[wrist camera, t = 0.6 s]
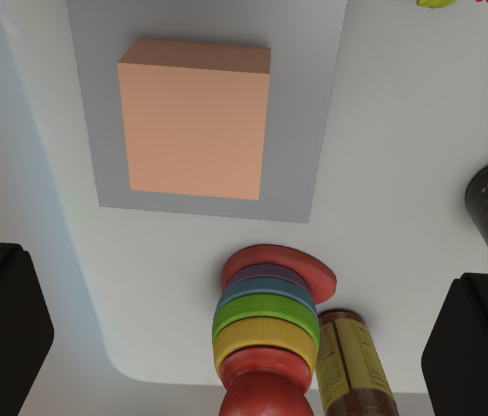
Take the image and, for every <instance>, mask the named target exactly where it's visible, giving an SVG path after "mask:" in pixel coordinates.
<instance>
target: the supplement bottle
mask: <svg viewBox="0 0 488 416" xmlns="http://www.w3.org/2000/svg"><path fill="white" fill-rule="evenodd" d="M466 205H467V209H468V212H469V214H470V216H471V218H472V219H473V221H474V223H475V225H476V227H477V228H478V230H479V232H480V234H481V235H482V237H483V239H484V241H485V242H486V244H487V246H488V168H486V169H485V170H483V171H482V172H481V173H480V174H479V175H478V176H477V177H476V178H475V179H474V181H473V182H472V184H471V185H470V187H469V189H468V192H467V196H466Z"/></svg>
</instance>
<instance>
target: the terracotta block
mask: <svg viewBox="0 0 488 416" xmlns="http://www.w3.org/2000/svg"><path fill="white" fill-rule="evenodd" d="M270 62H271V48H261V47H247V46H234V45H221V44H208V43H195V42H181V41H168V40H155V39H142V38H138V39H137V40H136V41H135V42H134V44H133V45H132V46H131V47H130V48H129V49H128V51H127V52H126V53H125V54H124V55H123V56H122V57H121V59H120V60H119V61H118V62H117V66H118V75H119V85H120V94H121V104H122V113H123V122H124V132H125V141H126V150H127V160H128V169H129V178H130V188H131V190H139V191H152V192H164V193H176V194H189V195H201V196H214V197H226V198H238V199H251V200H259V189H260V178H261V167H262V156H263V145H264V134H265V123H266V112H267V102H268V91H269V80H270Z"/></svg>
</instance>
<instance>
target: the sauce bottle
mask: <svg viewBox="0 0 488 416" xmlns="http://www.w3.org/2000/svg"><path fill="white" fill-rule="evenodd" d="M318 320H319V327H320V343H319V351H318V354H317V358H316V364H315V371H316V377H317V381H318V387H319V392H320V396H321V401H322V406H323V411H324V415H325V416H399V414H398V411H397V406H396V402H395V400H394V397H393V394H392V392H391V389H390V387H389V384H388V381H387V379H386V376H385V373H384V370H383V368H382V365H381V362H380V360H379V357H378V354H377V352H376V349H375V346H374V343H373V341H372V338H371V335H370V333H369V331H368V329H367V328H366V326H365V324H364V323H363V321H361V319H360V318H359V317H357V316H356V315H355V314H353V313H351V312H343V311H342V312H331V313H327V314H325V315H323V316H321V317H320V318H319V319H318Z"/></svg>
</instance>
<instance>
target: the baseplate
mask: <svg viewBox="0 0 488 416" xmlns="http://www.w3.org/2000/svg"><path fill="white" fill-rule="evenodd" d="M67 4H68V11H69V17H70V23H71V29H72V36H73V42H74V48H75V55H76V61H77V67H78V73H79V80H80V86H81V92H82V99H83V105H84V111H85V117H86V124H87V130H88V136H89V143H90V149H91V155H92V161H93V168H94V174H95V180H96V187H97V193H98V199H99V205H100V207H112V208H124V209H137V210H149V211H161V212H173V213H186V214H198V215H210V216H222V217H235V218H247V219H259V220H271V221H284V222H296V223H308V221H309V215H310V209H311V204H312V198H313V192H314V187H315V181H316V175H317V170H318V164H319V158H320V153H321V147H322V141H323V136H324V130H325V124H326V119H327V113H328V107H329V102H330V96H331V90H332V84H333V79H334V73H335V67H336V62H337V56H338V50H339V45H340V39H341V33H342V28H343V22H344V16H345V11H346V5H347V0H67ZM138 38H142V39H155V40H168V41H181V42H195V43H208V44H221V45H234V46H247V47H261V48H271V62H270V80H269V91H268V102H267V112H266V123H265V134H264V145H263V156H262V167H261V178H260V189H259V200H251V199H238V198H226V197H214V196H201V195H189V194H176V193H164V192H152V191H139V190H131V188H130V178H129V169H128V160H127V150H126V141H125V132H124V122H123V113H122V104H121V94H120V85H119V75H118V66H117V62H118V61H119V60H120V59H121V57H122V56H123V55H124V54H125V53H126V52H127V51H128V49H129V48H130V47H131V46H132V45H133V44H134V42H135V41H136V40H137V39H138Z"/></svg>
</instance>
